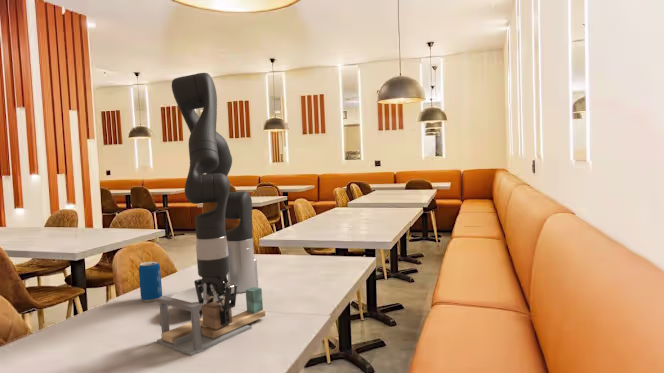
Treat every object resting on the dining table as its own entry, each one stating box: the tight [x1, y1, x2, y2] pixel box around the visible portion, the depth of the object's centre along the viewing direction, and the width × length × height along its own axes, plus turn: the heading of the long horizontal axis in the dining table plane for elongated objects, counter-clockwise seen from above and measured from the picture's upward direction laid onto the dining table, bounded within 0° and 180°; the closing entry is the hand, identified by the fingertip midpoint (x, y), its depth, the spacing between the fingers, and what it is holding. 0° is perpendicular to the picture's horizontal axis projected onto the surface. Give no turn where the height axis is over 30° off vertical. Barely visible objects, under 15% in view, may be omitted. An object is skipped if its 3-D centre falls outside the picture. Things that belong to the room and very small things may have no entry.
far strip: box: [160, 322, 203, 343], centre depth 106 cm, size 8×5×2 cm, turn 143°
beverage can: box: [138, 260, 163, 303], centre depth 141 cm, size 6×6×12 cm
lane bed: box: [156, 295, 252, 356], centre depth 108 cm, size 18×14×11 cm
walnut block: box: [201, 300, 233, 329], centre depth 107 cm, size 5×5×5 cm
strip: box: [201, 287, 266, 338], centre depth 111 cm, size 17×5×8 cm, turn 143°
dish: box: [170, 287, 215, 312], centre depth 128 cm, size 18×14×5 cm
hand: (217, 322), depth 107 cm, fingers closed on walnut block, 5 cm apart
